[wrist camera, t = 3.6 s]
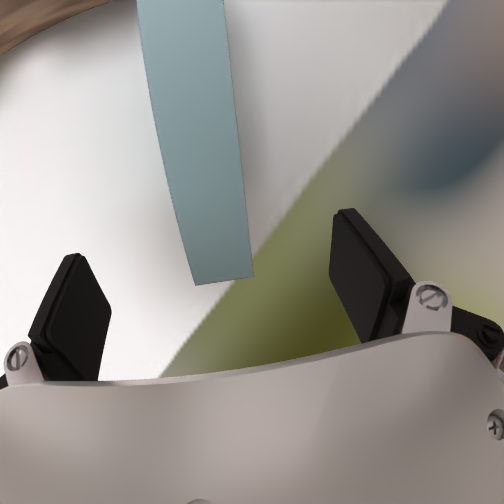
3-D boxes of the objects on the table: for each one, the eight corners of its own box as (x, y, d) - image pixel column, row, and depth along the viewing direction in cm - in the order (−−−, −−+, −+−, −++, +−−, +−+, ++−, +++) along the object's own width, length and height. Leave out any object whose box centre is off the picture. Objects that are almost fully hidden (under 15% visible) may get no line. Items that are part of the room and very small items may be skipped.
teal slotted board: (211, -15, 12) (215, -69, 5) (236, 196, 22) (253, 276, 15) (164, -8, 12) (132, -54, 5) (197, 203, 22) (195, 285, 15)
